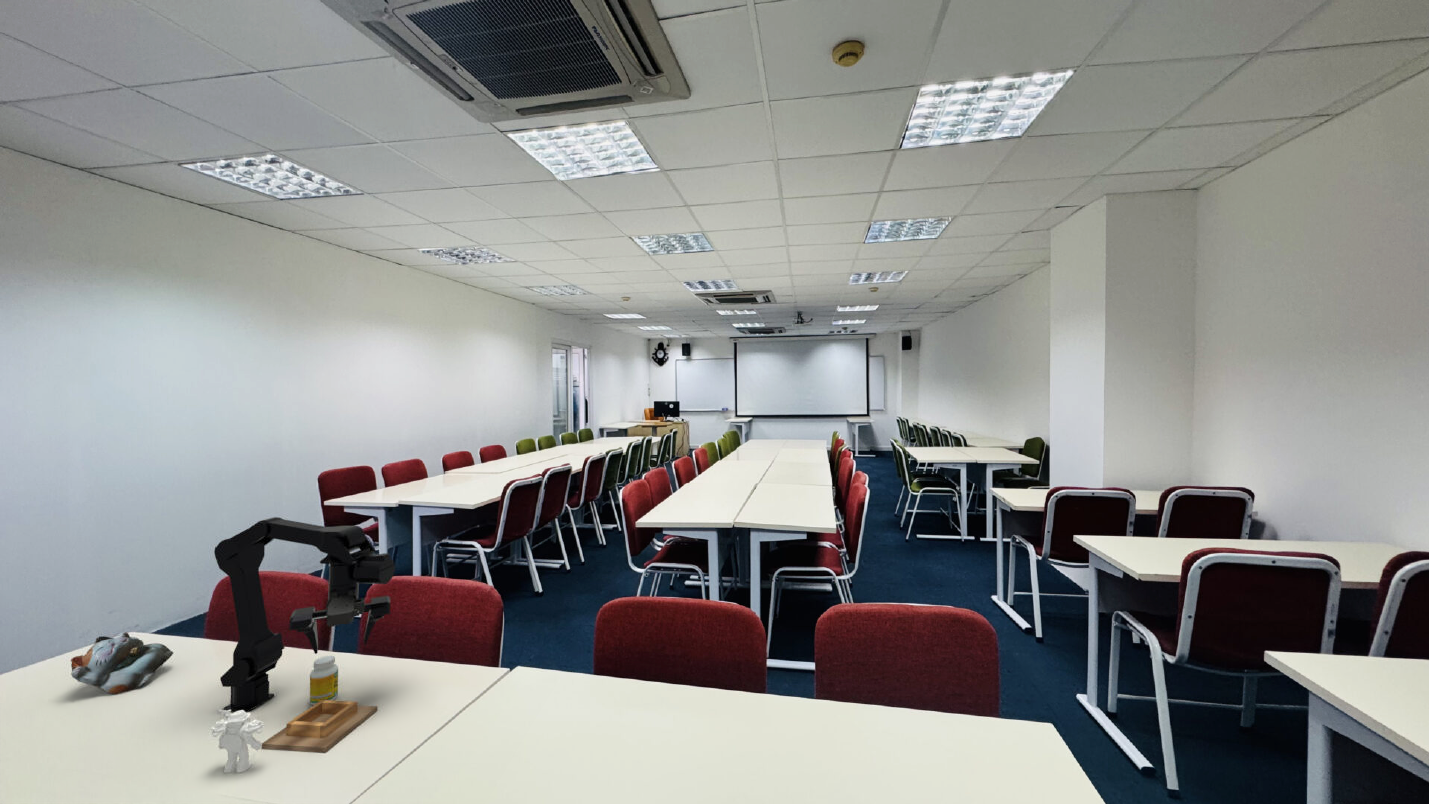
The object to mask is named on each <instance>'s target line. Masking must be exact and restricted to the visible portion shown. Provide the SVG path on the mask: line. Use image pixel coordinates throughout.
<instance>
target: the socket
mask: <svg viewBox="0 0 1429 804" xmlns="http://www.w3.org/2000/svg"><path fill="white" fill-rule="evenodd" d="M378 711H379V710H378V706H374V705H359V704H358V701H349V700H335V699H334V700H321V701H319V702H318V703H316V704H315V705H312V706H311V707H308V709H306V710H305V711H303V712H302V713H300V714H298V715H297V716H296V717H294V718H293V719H292V720H290V721H288V722H287V723H286V726H285V727H284V728H282V729H281V730H280V731H278V732H277V733H275V734H273V735H272V736H271V737H269V738H268V739H266V740H265V741H263V742H262V746H261V749H262V750H277V751H294V752H308V753H309V752H310V753H321V754H322V753H323V754H326V753H327V752H328V751H330V750H331V749H332V748H333V747H334V746H335V745H337V744H338V743H339V742H341V741H342V740H343V739H345V738H346V737H347V736H348V735H349V734H351V733H352V732H353V731H354V730H356V729H357V728H358V727H359V726H361V725H362V724H363V723H364V722H366V721H367V720H368V719H369V718H370V717H372V716H373V715H374V714H375V713H377V712H378Z"/></svg>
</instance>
